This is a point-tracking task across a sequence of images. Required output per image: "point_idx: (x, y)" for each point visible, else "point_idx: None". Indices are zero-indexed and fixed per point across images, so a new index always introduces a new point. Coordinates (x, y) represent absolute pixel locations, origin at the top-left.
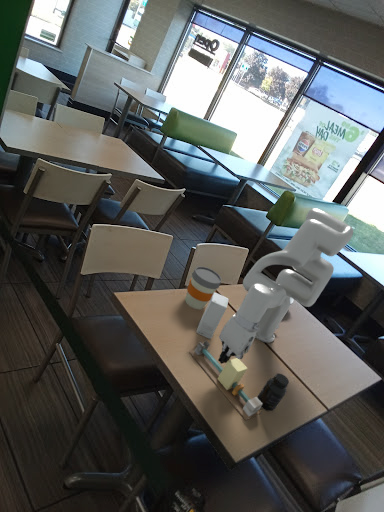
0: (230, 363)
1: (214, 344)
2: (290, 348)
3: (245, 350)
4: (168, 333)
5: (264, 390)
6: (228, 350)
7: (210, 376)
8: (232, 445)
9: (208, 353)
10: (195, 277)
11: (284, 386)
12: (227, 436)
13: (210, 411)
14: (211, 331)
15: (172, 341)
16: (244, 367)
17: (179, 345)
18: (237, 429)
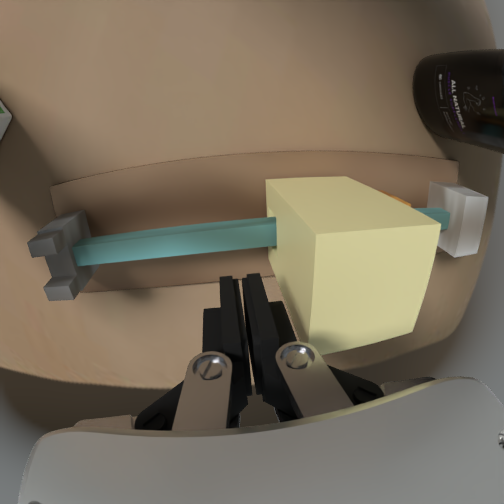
0: (337, 351)
1: (39, 104)
2: None
3: (464, 388)
4: (10, 311)
5: (482, 139)
6: (245, 382)
7: (239, 278)
8: (440, 330)
9: (109, 254)
10: None
11: None
12: (425, 332)
13: (360, 347)
14: None
15: (40, 321)
16: (424, 249)
17: (52, 307)
18: (436, 296)
